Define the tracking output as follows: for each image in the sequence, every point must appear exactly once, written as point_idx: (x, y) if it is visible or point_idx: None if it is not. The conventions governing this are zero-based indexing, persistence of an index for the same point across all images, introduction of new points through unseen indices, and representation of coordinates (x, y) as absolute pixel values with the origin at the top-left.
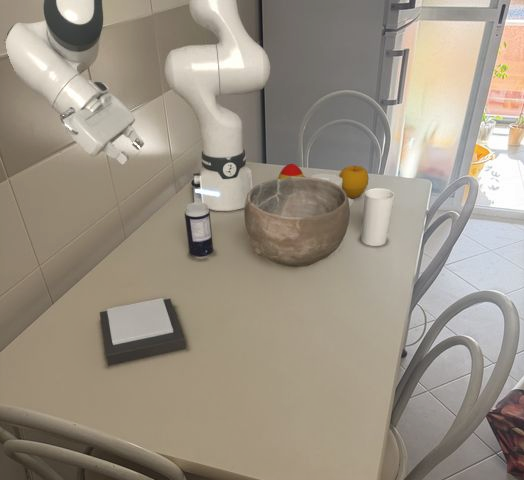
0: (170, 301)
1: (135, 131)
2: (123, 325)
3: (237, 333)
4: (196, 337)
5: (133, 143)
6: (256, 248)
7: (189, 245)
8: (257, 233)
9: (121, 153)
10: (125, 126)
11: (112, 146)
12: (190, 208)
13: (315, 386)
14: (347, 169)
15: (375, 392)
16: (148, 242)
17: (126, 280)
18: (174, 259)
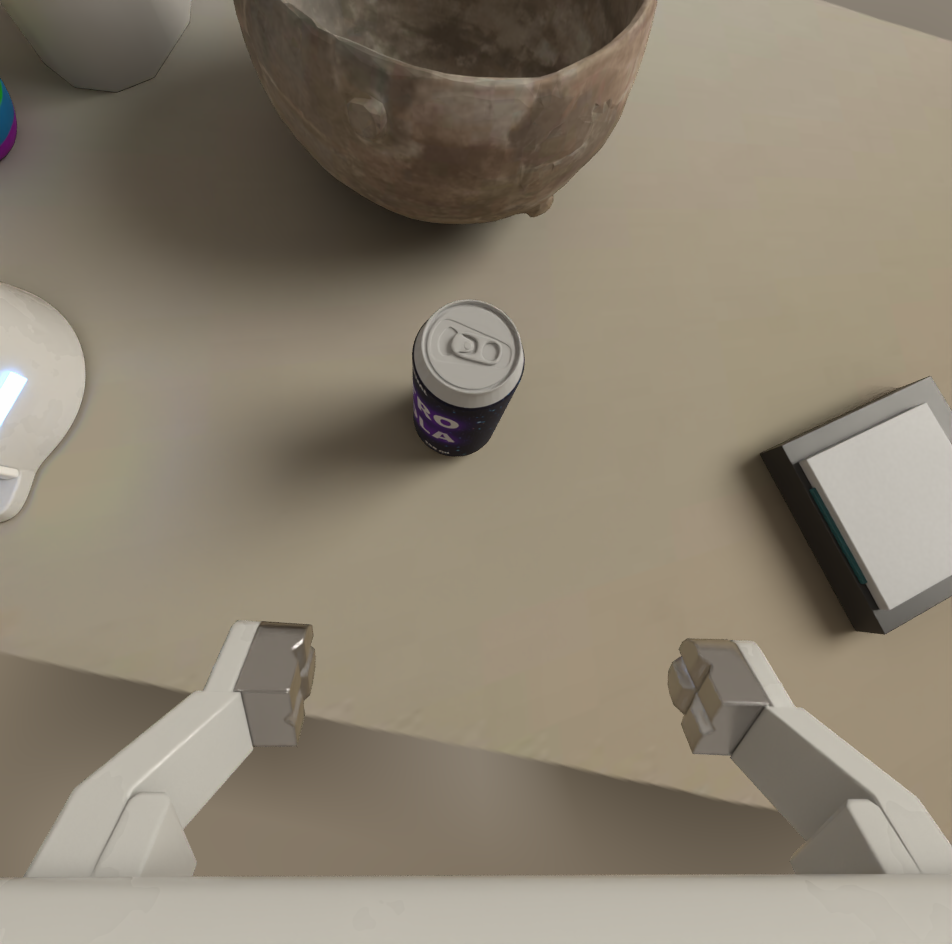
0: (795, 441)
1: (122, 755)
2: (946, 534)
3: (823, 281)
4: (857, 370)
5: (296, 727)
6: (549, 198)
7: (483, 440)
8: (599, 138)
9: (786, 694)
10: (287, 885)
11: (894, 803)
12: (485, 372)
13: (937, 138)
14: None
15: (924, 49)
16: (371, 638)
17: (643, 634)
18: (495, 505)
